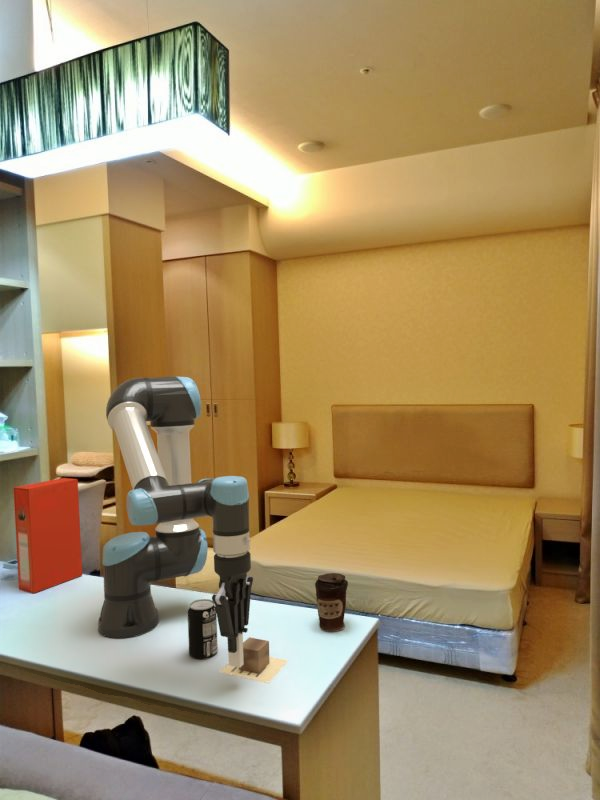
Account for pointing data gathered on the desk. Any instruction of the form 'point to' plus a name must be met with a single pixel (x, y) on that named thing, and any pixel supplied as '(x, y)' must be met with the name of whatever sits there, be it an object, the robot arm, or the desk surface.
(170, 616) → the desk surface
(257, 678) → the letter
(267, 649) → the walnut block
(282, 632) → the desk surface
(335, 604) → the coffee cup
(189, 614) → the beverage can
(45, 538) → the file binder
